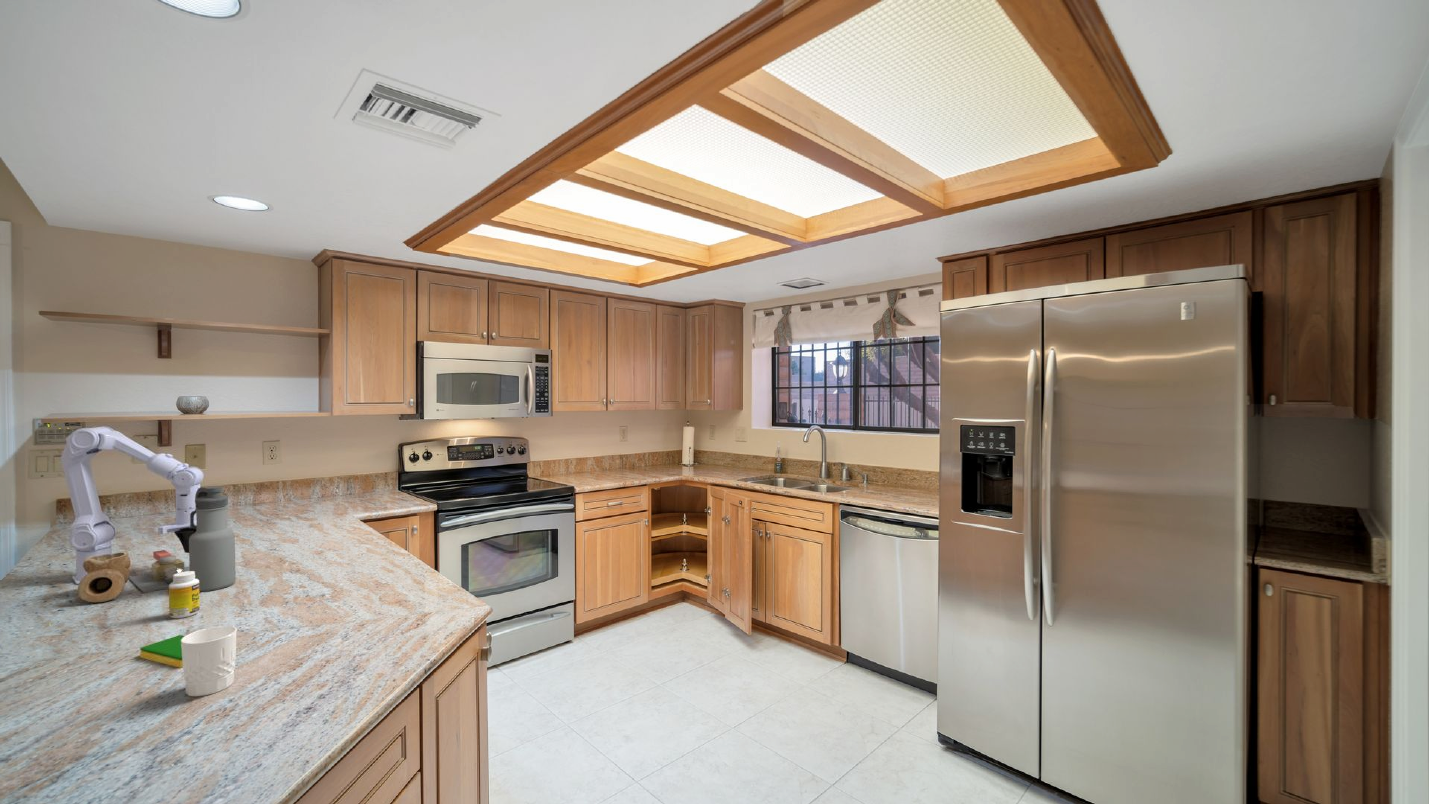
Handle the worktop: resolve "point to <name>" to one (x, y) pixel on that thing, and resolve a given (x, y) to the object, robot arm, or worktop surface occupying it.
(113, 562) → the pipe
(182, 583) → the supplement bottle
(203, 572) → the water bottle
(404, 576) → the worktop surface
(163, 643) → the dish sponge
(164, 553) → the lever
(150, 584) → the mat
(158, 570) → the valve body
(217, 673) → the white cup
